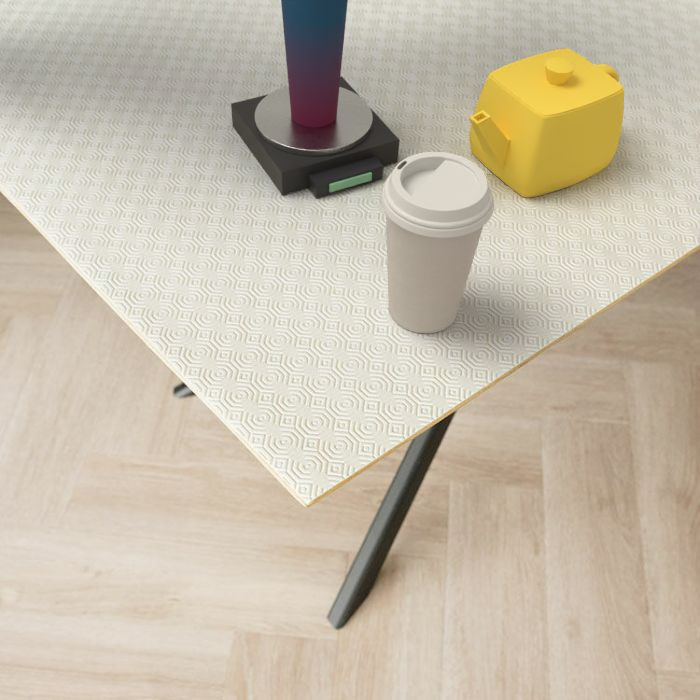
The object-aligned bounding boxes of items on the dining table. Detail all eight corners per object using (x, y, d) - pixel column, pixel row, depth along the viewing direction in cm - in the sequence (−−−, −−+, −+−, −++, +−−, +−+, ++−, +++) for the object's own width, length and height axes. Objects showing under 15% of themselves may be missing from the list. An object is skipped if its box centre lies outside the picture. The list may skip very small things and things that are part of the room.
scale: (232, 126, 105) (230, 103, 102) (341, 98, 109) (341, 76, 107) (291, 207, 95) (290, 184, 93) (407, 173, 100) (409, 151, 98)
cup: (346, 99, 102) (350, -32, 91) (343, 134, 98) (347, 1, 87) (285, 96, 102) (282, -36, 91) (280, 131, 98) (276, -3, 87)
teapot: (496, 219, 95) (515, 123, 86) (428, 157, 102) (439, 62, 93) (636, 163, 102) (666, 68, 94) (564, 108, 109) (586, 16, 101)
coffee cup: (430, 261, 90) (447, 133, 79) (494, 318, 85) (522, 190, 74) (352, 298, 86) (358, 169, 75) (414, 361, 81) (431, 232, 70)
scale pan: (236, 104, 102) (236, 98, 102) (339, 79, 107) (340, 73, 106) (284, 168, 95) (284, 162, 94) (393, 138, 99) (394, 132, 98)
